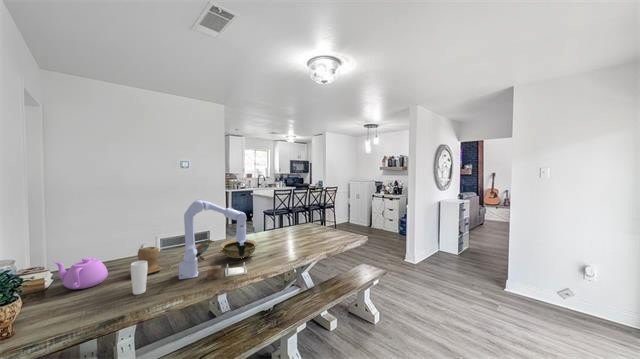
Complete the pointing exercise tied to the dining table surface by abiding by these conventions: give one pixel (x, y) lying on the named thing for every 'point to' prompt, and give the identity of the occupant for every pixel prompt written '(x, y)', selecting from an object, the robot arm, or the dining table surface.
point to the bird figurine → (203, 248)
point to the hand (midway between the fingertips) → (241, 253)
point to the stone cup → (150, 258)
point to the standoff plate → (235, 271)
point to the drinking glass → (139, 276)
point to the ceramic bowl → (232, 249)
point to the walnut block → (214, 272)
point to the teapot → (83, 273)
